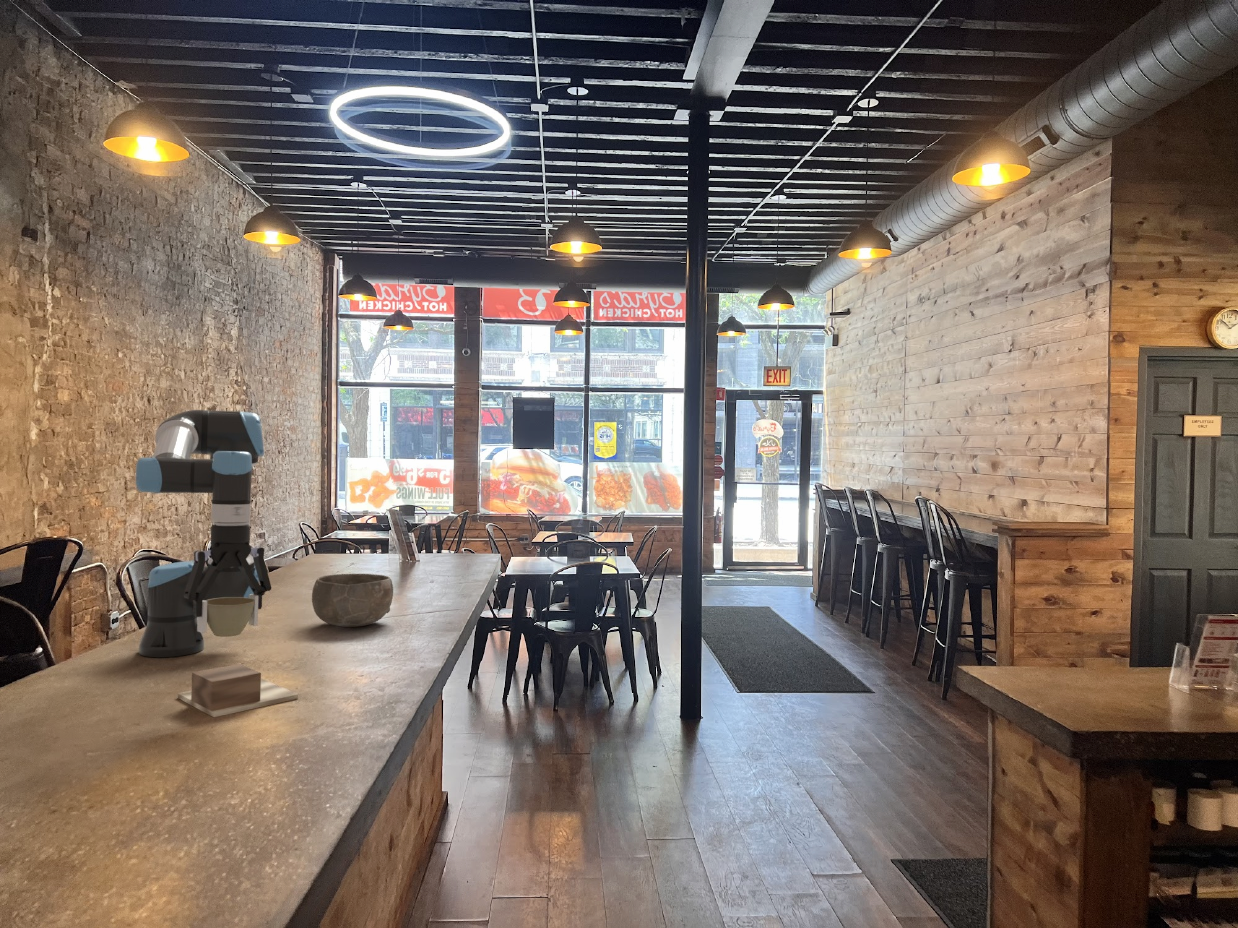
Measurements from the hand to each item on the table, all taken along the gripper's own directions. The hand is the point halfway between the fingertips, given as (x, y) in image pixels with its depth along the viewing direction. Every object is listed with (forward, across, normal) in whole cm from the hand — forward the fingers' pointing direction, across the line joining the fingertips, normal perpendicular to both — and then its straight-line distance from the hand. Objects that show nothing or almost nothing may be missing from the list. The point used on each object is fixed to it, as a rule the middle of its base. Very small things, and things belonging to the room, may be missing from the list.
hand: (228, 628), depth 170 cm
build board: (+16, +4, +3) cm, 17 cm away
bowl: (+17, +62, +52) cm, 82 cm away
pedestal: (+15, 0, 0) cm, 15 cm away
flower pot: (+2, 0, 0) cm, 2 cm away
